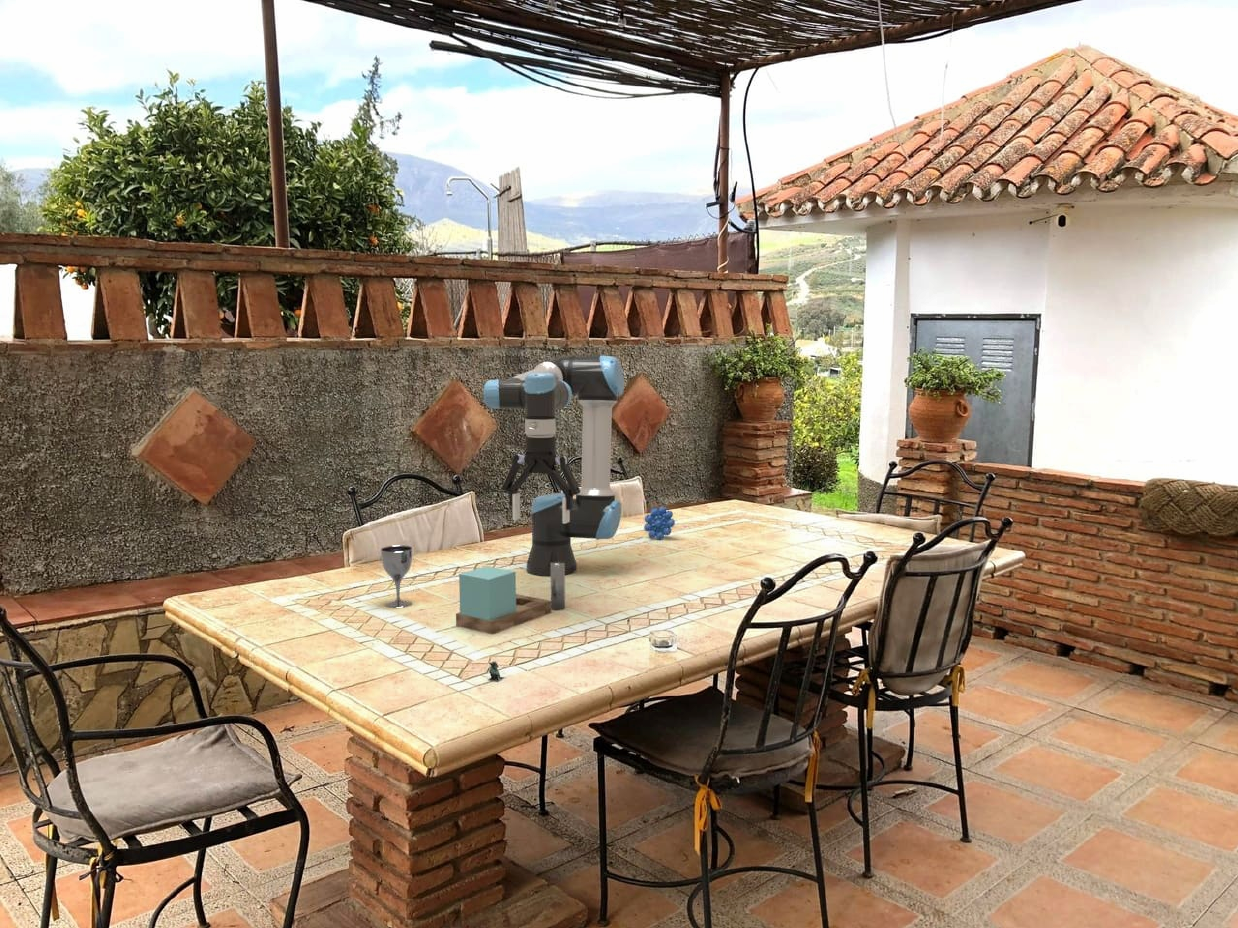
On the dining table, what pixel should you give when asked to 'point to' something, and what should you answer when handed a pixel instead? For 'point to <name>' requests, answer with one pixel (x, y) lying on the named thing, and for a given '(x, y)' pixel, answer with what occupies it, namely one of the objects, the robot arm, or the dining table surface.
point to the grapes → (659, 522)
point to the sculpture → (494, 673)
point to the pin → (557, 585)
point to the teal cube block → (487, 593)
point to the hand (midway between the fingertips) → (541, 521)
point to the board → (508, 616)
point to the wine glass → (397, 569)
